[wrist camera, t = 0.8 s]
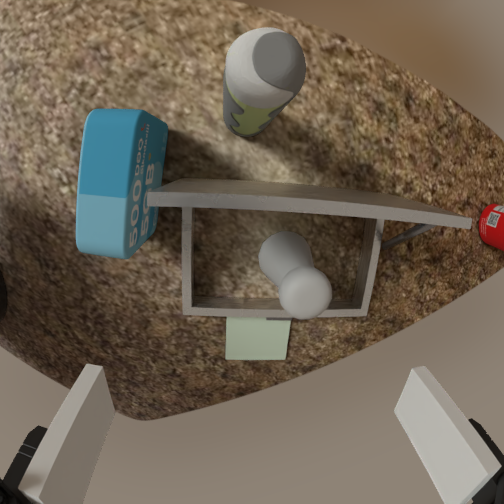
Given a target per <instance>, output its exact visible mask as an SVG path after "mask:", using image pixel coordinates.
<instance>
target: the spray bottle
mask: <svg viewBox="0 0 504 504" xmlns="http://www.w3.org/2000/svg"><path fill="white" fill-rule="evenodd" d="M305 74H306V63H305V57H304V54H303V51H302V48H301V46H300V44H299V43H298V41H297V39H296V38H295V37H293V36H292V35H290V34H288V33H286V32H284V31H282V30H279V29H276V28H258V29H254V30H251V31H248V32H246V33H244V34H243V35H241V36H240V37H238V38H237V39H236V40H235V41H234V42H233V44H232V45H231V47H230V49H229V51H228V53H227V57H226V66H225V69H224V81H223V118H224V122H225V124H226V126H227V127H228V129H229V130H230V131H231V132H233V133H234V134H236V135H238V136H243V137H250V136H254V135H257V134H259V133H260V132H262V131H263V130H264V129H265V128H266V126H267V125H268V124H269V123H270V122H271V121H272V120H273V119H274V118H275V117H276V116H277V115H278V114H279V113H280V112H281V111H282V110H283V109H284V107H285V106H286V105H287V104H288V103H289V102H290V101H291V100H292V99H293V98H294V97H295V96H296V95H297V94H298V92H299V91H300V89H301V87H302V85H303V83H304V79H305Z"/></svg>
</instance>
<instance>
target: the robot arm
mask: <svg viewBox="0 0 504 504" xmlns="http://www.w3.org/2000/svg"><path fill="white" fill-rule="evenodd" d="M6 308H7V294H6V288H5V283H4V280H3V276H2V274H1V271H0V321H1V320H2V319H3V318H4V316H5V313H6ZM394 412H395V414H396V416H397V418H398V419H399V421H400V423H401V425H402V426H403V428H404V430H405V432H406V434H407V435H408V437H409V439H410V440H411V442H412V444H413V446H414V448H415V450H416V451H417V453H418V455H419V457H420V459H421V460H422V462H423V464H424V466H425V468H426V470H427V471H428V473H429V475H430V477H431V479H432V481H433V483H434V485H435V487H436V488H437V490H438V492H439V494H440V496H441V498H442V500H443V502H444V504H466V503H467V502H468V501H469V500H470V499H471V498H472V500H473V503H472V504H504V455H503V454H502V452H501V451H500V450H499V448H498V447H497V446H496V444H495V443H494V442H493V441H491V438H490V436H489V435H488V434H486V433H487V432H486V431H485V430H484V429H483V427H482V426H481V425H480V424H479V423H477V422H476V421H475V420H473V419H469V420H468V419H467V418H466V417H465V415H464V414H463V413H462V411H461V410H460V409H459V408H458V406H457V405H456V404H455V403H454V401H453V400H452V399H451V397H450V396H449V395H448V394H447V392H445V390H444V389H443V387H442V386H441V385H440V384H439V382H438V381H437V380H436V379H435V377H434V376H433V375H432V374H431V373H430V371H429V370H428V369H427V368H426V367H425V366H421V367H416V368H412V369H411V372H410V374H409V377H408V379H407V382H406V385H405V387H404V389H403V392H402V394H401V396H400V398H399V401H398V403H397V405H396V407H395V409H394ZM114 415H115V409H114V406H113V402H112V399H111V395H110V392H109V388H108V385H107V381H106V377H105V373H104V369H103V366H97V365H92V364H86V366H85V367H84V369H83V370H82V372H81V374H80V375H79V377H78V379H77V380H76V382H75V383H74V385H73V387H72V388H71V390H70V392H69V393H68V395H67V397H66V399H65V400H64V402H63V404H62V405H61V407H60V409H59V411H58V413H57V414H56V416H55V417H54V419H53V421H52V423H51V425H50V426H49V428H48V429H47V428H44V427H41V426H37V427H36V428H35V429H33V430H32V431H31V432H30V433H29V434H28V435H27V437H26V439H25V440H24V442H23V445H22V446H21V447H20V449H19V453H17V454H16V457H15V458H14V460H13V462H12V464H11V466H10V468H9V469H8V471H7V473H6V475H5V477H4V479H3V480H1V479H0V504H83V501H84V498H85V495H86V492H87V489H88V486H89V483H90V480H91V477H92V474H93V471H94V469H95V466H96V463H97V460H98V457H99V455H100V452H101V449H102V446H103V444H104V441H105V438H106V436H107V433H108V431H109V428H110V425H111V423H112V420H113V418H114Z"/></svg>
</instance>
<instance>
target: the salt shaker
mask: <svg viewBox="0 0 504 504" xmlns="http://www.w3.org/2000/svg"><path fill="white" fill-rule="evenodd" d="M258 257H259V264H260V268H261V270H262V271H263V272H264V274H265V275H266V277H267V278H268V279H270V280H271V281H272V282H273V283H274V284H275V285H276V286H277V287H278V288H279V289H278V292H279V300H280V304H281V305H282V307H283V308H284V309H285V311H286V312H287V313H288V314H289V315H290V316H292V317H294V318H296V319H312V318H314V317H317V316H319V315H321V314H322V313H323V312H324V311H325V310H326V309H327V308H328V306H329V303H330V301H331V299H332V287H331V284H330V282H329V280H328V279H327V277H326V275H325V274H324V273H323V272H322V271H320V270H318V269H316V268H314V263H313V258H312V254H311V249H310V247H309V245H308V243H307V242H306V240H305V238H304V237H302V236H300V235H298V234H296V233H294V232H288V231H280V232H278V233H275V234H273V235H270V236H269V237H268V238H267V239H266V240H265V241H264V242H263V243H262V246H261V249H260V252H259V256H258Z"/></svg>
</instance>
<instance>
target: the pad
mask: <svg viewBox="0 0 504 504" xmlns="http://www.w3.org/2000/svg"><path fill="white" fill-rule="evenodd" d="M290 323H291V320H266V317H227V321H226V357H225V359H228V360H285V358H286V351H287V344H288V337H289V330H290Z"/></svg>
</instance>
